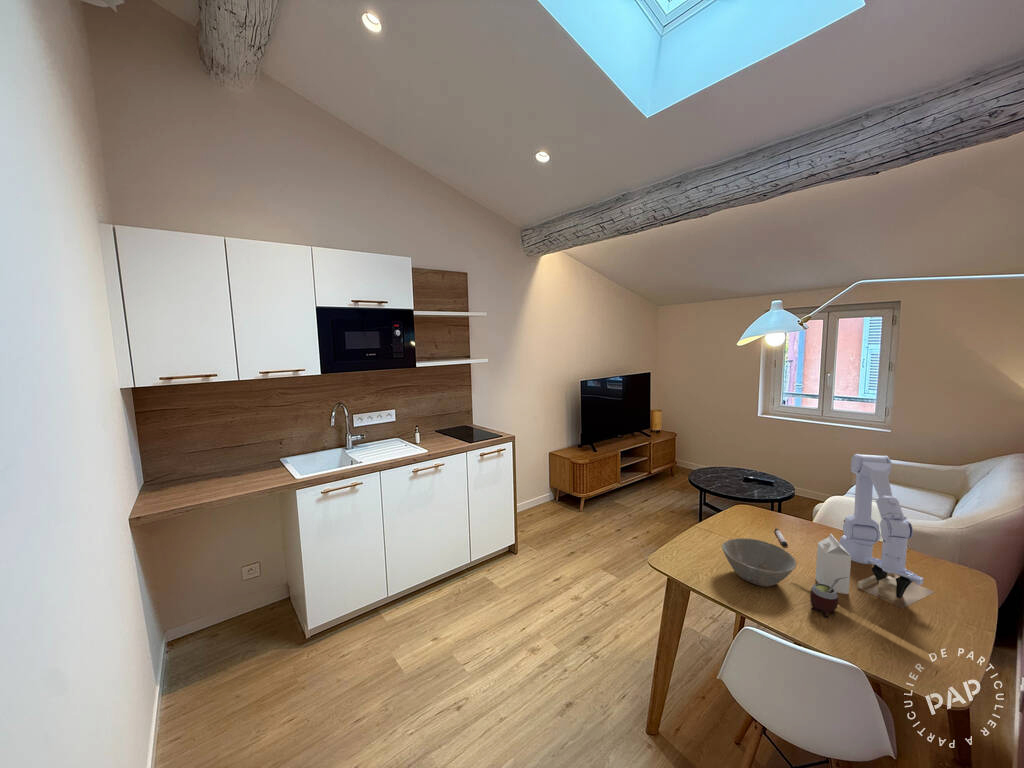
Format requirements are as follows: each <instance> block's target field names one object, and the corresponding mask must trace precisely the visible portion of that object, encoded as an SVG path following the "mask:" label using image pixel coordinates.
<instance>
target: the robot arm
mask: <svg viewBox="0 0 1024 768" xmlns="http://www.w3.org/2000/svg"><path fill="white" fill-rule="evenodd" d="M892 464H893V463H892V461H891V458H890V457H889V456H888V455H873V454H860V453H855V454H853V455H852V457H851V462H850V471H851V473H853V474H855V491H854V492H855V493H854V513H852V514H851V515H848V516H846V517H845V518H844V520H845V521H844V520H843V523H842V532H843V535H841V536H840V538H839V541H838V542H839V543H840V545H841V546H842V547H843V548H844V549H845V550H846V551H847V552H848V553H849V554H850V555H851V562H852V561H853V562H855V563H859V564H863V565H864V564H865V565H873V567H872V568H871V572H872V573H873V575H875V577H876V579H877V582H878V585H879V580H881V579H883V578H886V576H887V572H888V573H894V575H896V576H898V578H896V583H897V592H896V597H897V598H901V597H903V594H904V592H905V590H906V588H907V587H908V586H909V585H910V584H911V583H912V582H913V583H915V584H917V585H920V586H921V585H923V584H924V578H923V577H922V576H919V575H917V574H916V573H914V572H912V571H911V570H909V569H907V568H906V562H907V550H908V539H912V537H913V534H914V530H913V526H912V523H911V521H910V520H909V519H908V518H907V516H904V513H903V510H902V507H901V504H900V501H899V500H898V499H897V498H896V497H894V496H893V493H892V488H891V484H890V479H889V475H890V474H891V470H892ZM873 487H874V488H873ZM873 489H875V491H876V492H875V493H876V494H877V496H878V498H876V501H875V502H876V503H875V504H876V506H877V509H878V512H879V516H880V518H881V520H880V522H879V523H878V522H877V521H876V520H875V519H874V518H872V511H873V510H872V508H873V507H872V505H873ZM881 538H882V548H881V558H876V557H873V549H874V545H876V543H878V542H880V540H881Z"/></svg>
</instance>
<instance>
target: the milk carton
mask: <svg viewBox="0 0 1024 768" xmlns="http://www.w3.org/2000/svg"><path fill="white" fill-rule="evenodd" d="M816 548H817V551H816V563H815V564H816V567H815V580H816V582H817V584H825V585H828V586H830V587H831V586H832V584H833V583H834V580H835V579H837V578H840V577H847V578H844V579H841V580H838V582H837V583H836V584H835V586H834V587H833V589H834V590H835V592H836V593H837V594H845V595H849V594H850V593H849V592H850V579H851V565H852V560H851V555H850V554H849V553H848V552H847V551H846V550H845V549H844V548H843V547H842V546H841V545H840V543H839V541H838V539H836V537H834V535H833V534H832V533H829V536H828V537H826V538H825V539H822V540H821V541H819V542H817V547H816Z"/></svg>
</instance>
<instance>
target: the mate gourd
mask: <svg viewBox="0 0 1024 768" xmlns="http://www.w3.org/2000/svg"><path fill="white" fill-rule="evenodd" d="M844 578H847V577H840V578H837V579H835V580H834V583H833V584H832V586H831V587H830V586H828V585H825V584H819V583H815V584H814V585H812V586H811V589H810V591H809V595H810V597H809V598H810V604H811V608H810V609H811V611H813V612H815V611H816V612H820V613H822V615H823V616H824V618H826V619H829V616H828V614H830V615H836V609H837V607H838V604H839V595H838V593H837V592H835V590H834V589H833V587H834V586H835V584H836V583H837V582H838V580H841V579H844Z"/></svg>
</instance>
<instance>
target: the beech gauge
mask: <svg viewBox="0 0 1024 768" xmlns="http://www.w3.org/2000/svg"><path fill="white" fill-rule="evenodd" d="M896 592H897V583H896V579H895V578H893V577H890V576H888V577H886V578H883V579H881V580H879V585H878V595H880V596H882V597H884V598H886V599H888V600H891V601H895V600H897V599H899V598H897V597H896Z"/></svg>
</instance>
